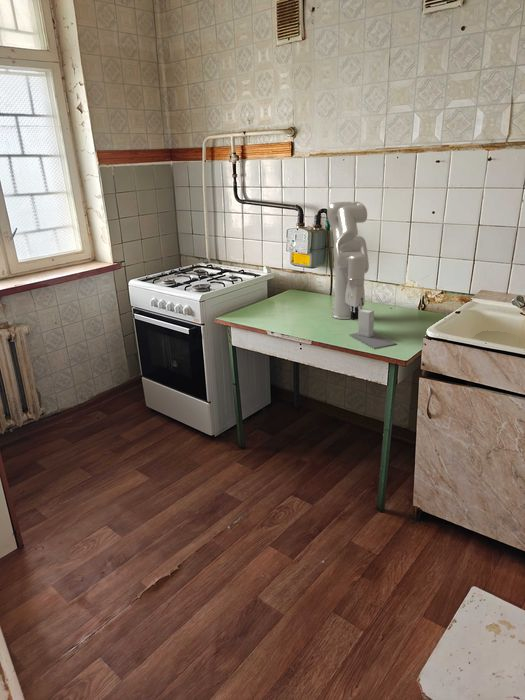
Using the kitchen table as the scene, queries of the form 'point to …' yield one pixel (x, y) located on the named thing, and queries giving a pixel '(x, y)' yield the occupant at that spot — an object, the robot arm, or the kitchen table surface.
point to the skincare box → (366, 323)
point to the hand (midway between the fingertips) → (354, 319)
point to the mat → (374, 340)
